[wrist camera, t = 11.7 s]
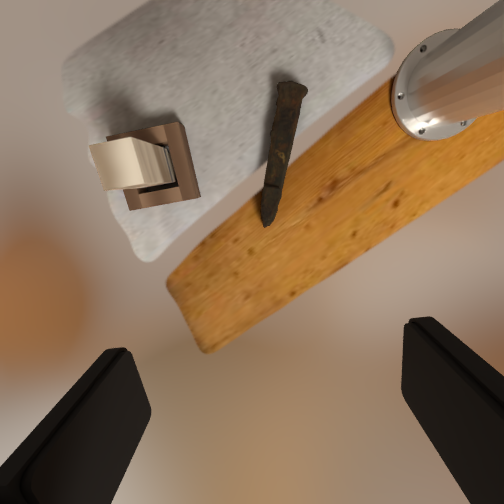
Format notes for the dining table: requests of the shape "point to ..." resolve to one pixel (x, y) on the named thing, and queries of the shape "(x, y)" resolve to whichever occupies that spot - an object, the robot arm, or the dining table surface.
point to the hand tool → (280, 146)
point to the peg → (132, 164)
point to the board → (182, 163)
